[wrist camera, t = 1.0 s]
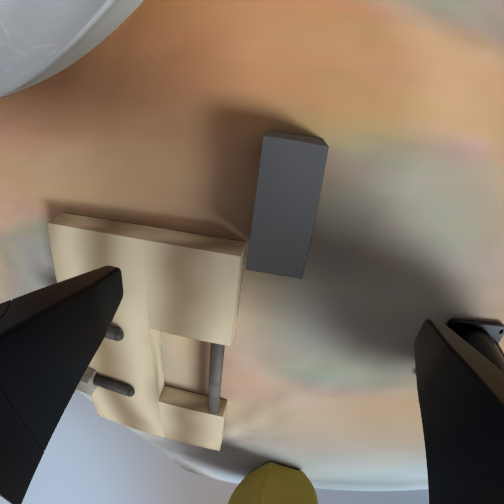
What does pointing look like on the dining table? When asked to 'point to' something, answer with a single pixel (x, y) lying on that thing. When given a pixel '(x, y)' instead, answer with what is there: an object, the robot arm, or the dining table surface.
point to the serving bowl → (52, 36)
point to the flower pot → (274, 487)
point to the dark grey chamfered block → (286, 202)
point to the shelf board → (155, 319)
